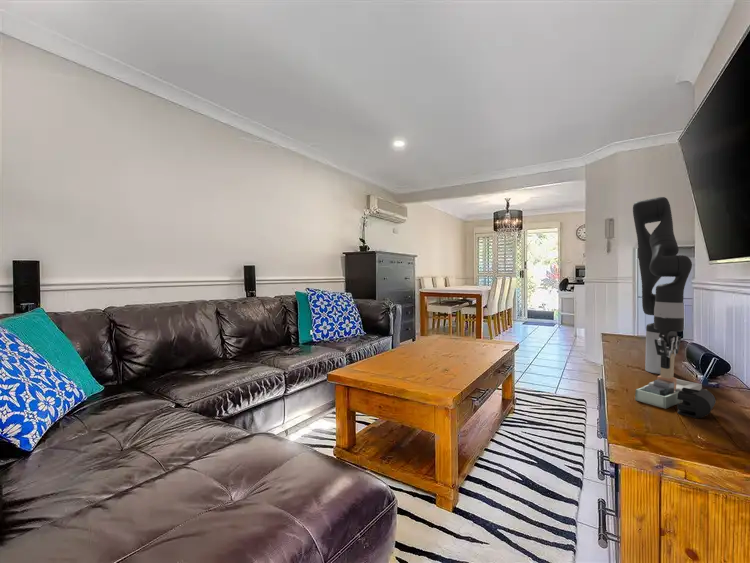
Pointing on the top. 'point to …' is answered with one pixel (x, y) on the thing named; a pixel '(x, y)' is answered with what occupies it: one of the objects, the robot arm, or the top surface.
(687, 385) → the slot board
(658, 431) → the top surface
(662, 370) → the two-tone stepped bar
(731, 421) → the top surface
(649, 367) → the robot arm
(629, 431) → the top surface
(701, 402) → the end cap
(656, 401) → the tray
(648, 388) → the dark grey cube
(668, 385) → the grey cube block
